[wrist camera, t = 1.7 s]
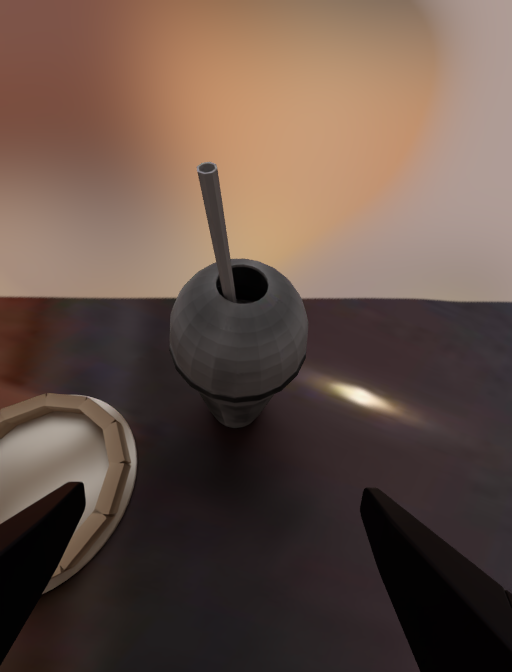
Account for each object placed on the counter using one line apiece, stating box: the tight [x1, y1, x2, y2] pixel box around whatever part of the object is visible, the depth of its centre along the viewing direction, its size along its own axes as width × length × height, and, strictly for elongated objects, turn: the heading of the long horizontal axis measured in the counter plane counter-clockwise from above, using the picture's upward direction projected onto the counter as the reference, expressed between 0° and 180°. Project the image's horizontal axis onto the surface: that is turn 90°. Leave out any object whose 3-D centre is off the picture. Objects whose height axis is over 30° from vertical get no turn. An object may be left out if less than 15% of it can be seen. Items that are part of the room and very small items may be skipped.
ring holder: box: [0, 393, 138, 594], centre depth 18 cm, size 13×13×2 cm
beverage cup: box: [169, 162, 308, 428], centre depth 15 cm, size 7×7×20 cm
